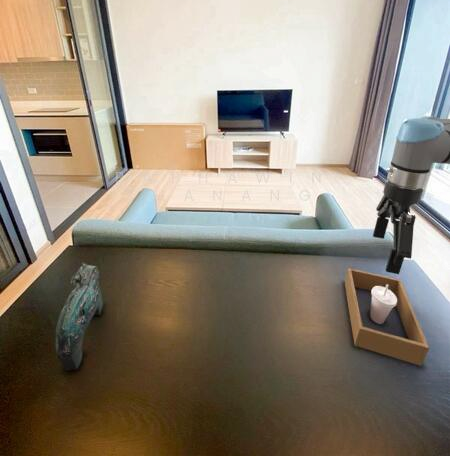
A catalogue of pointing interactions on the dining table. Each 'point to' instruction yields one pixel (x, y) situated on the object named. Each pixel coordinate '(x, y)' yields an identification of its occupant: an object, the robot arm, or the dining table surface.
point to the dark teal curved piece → (77, 316)
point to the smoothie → (381, 303)
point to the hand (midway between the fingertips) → (384, 253)
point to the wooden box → (380, 341)
